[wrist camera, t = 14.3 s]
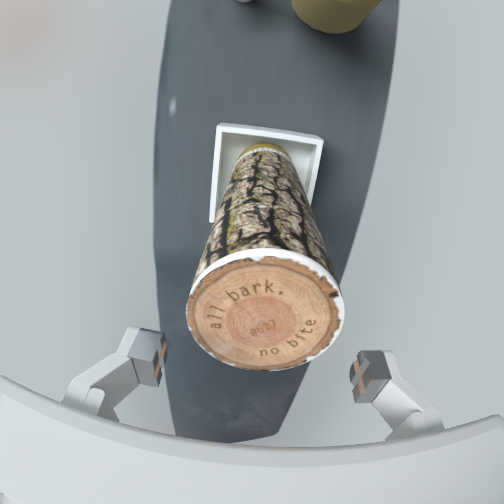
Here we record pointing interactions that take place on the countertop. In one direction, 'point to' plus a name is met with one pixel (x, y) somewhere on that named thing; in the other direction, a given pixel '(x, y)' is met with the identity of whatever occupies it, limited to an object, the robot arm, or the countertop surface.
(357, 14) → the squeeze bottle
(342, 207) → the countertop surface
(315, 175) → the tray
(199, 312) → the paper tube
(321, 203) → the countertop surface
